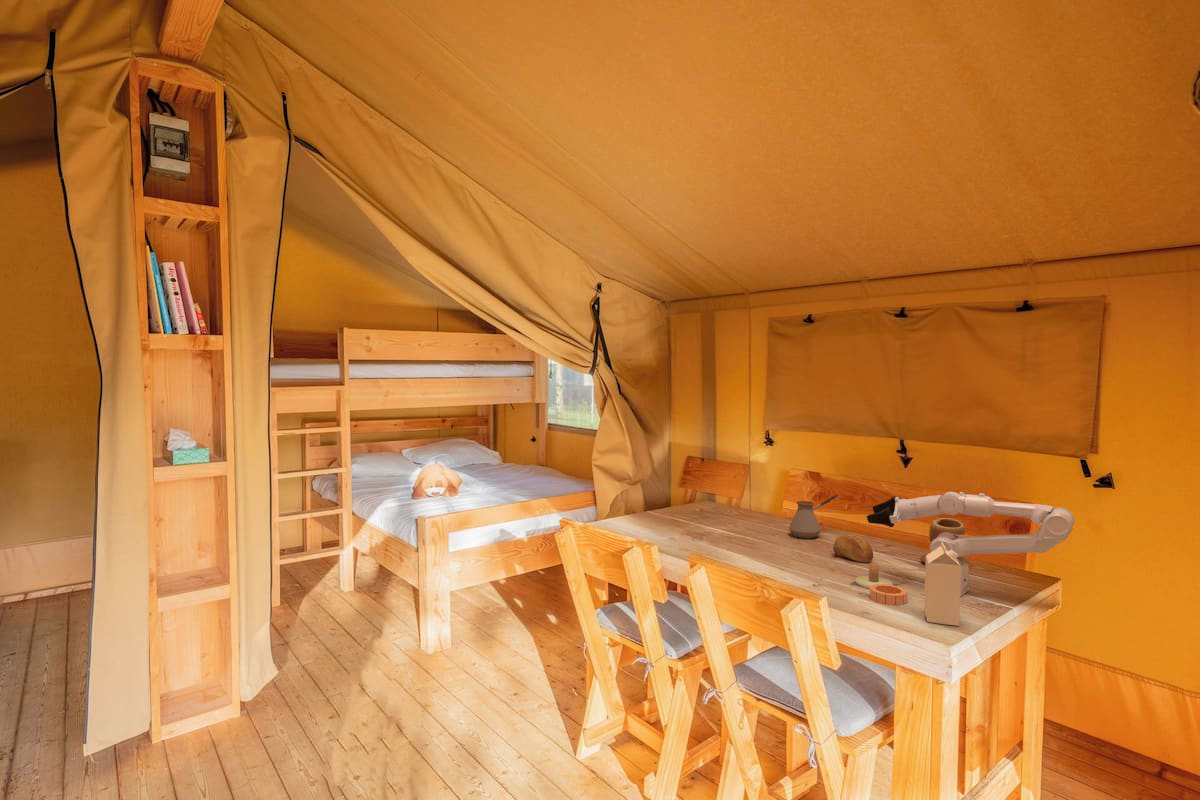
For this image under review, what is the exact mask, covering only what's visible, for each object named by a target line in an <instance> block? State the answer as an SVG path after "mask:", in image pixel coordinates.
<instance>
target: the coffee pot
mask: <svg viewBox="0 0 1200 800" xmlns="http://www.w3.org/2000/svg"><path fill="white" fill-rule="evenodd" d="M838 497H839V498H841V496H840V495H838V494H835V495H833V496H831V497H829V498H827V499H826V500H824V501H822V502H820V503H818V505H816V506H814V505H815V503H814V502H813V501H807V500H799V501H796V502H795V503H796V504H797V510H796V511H795V513H794V516H793V517H792V521H791V522H790V524H789V527H788V530H789V532H790V533H791V534H792V535H793V536H794V537H795V536H796V537H795V538H797V537H799V539H803V538H805V540H810V539H811V538H813V539H815V538H816V537H817V536H818V535H819V534H821V531H822V529H821V527H820V524H819V521H818V520H817V517H816V515H815V512H814V511H815V510H817V509H818V508H820V507H822V506H824V505H826V504H828V503H830V502H832V500H835V498H836V499H837V500H839V498H838ZM813 506H814V507H813Z"/></svg>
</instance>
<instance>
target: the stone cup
mask: <svg viewBox="0 0 1200 800" xmlns="http://www.w3.org/2000/svg"><path fill="white" fill-rule="evenodd" d="M965 529H966V528H965V525H964V524H963V523H962V521H959V520H958V519H955V518H949V517H939V518H936V519H934V520H933V521H932V522H931V523H930V526H929V533H928V534H929V535H928V536H929V538H928V539H929V542H930V543H929V544H931V542H932V541H933V540H934V539H936V538H937V537H938V535H939V534H941V533H944V532H949V533H952V534H955V535H965V536H966V530H965ZM928 554H929V553H928ZM928 554H923V555H921V556H919V560H920V561H921V562H923V563H925V564H926V555H928ZM959 560H960V561H961V562H964V563H967V564H968V563H970V559H969V558H968V557H967V555H965V556H961V557H959Z"/></svg>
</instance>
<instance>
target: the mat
mask: <svg viewBox="0 0 1200 800" xmlns="http://www.w3.org/2000/svg"><path fill="white" fill-rule="evenodd" d="M892 583H893V585H894V586H899V584H897V583H894V582H892ZM849 585H850V586H851V585H852V586H854V587H858V588H859V587H860V588H862V589H864V588H863V587H861V586H858V585H857V584H856V583H855V580H854V581H853V582H850V583H849ZM865 589H867V588H865ZM867 590H868V589H867Z"/></svg>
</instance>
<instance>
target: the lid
mask: <svg viewBox="0 0 1200 800" xmlns="http://www.w3.org/2000/svg"><path fill="white" fill-rule="evenodd" d="M868 565H869V567H868V569H869V570H868V575H859V576H858V575H857V576H856V577H855V579H854V581H855V583H856V584H857V585H858V586H861V587H860V588H862V587H863V588H862V589H866V588H867V590H870V586H872V585H875V584H888V585H893V583H894V582H893V581H891V580H890V579H888V578H885V577H882V576H880V575H879V574H880V564H879V562H878V563H877V562H868ZM858 586H857V587H858Z"/></svg>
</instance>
